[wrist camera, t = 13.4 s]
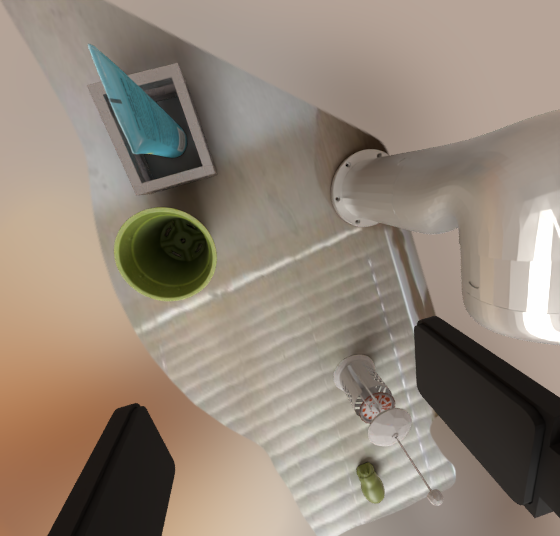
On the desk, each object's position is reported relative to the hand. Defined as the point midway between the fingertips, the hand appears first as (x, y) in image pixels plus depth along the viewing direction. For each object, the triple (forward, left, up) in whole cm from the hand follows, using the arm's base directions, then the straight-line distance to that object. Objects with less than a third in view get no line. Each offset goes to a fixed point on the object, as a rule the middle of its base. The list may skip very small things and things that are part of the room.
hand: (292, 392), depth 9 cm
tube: (+6, -15, -37) cm, 41 cm away
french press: (-13, +37, -37) cm, 54 cm away
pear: (-11, +71, -37) cm, 81 cm away
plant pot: (+10, -1, -37) cm, 38 cm away
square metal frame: (+7, -15, -37) cm, 40 cm away
